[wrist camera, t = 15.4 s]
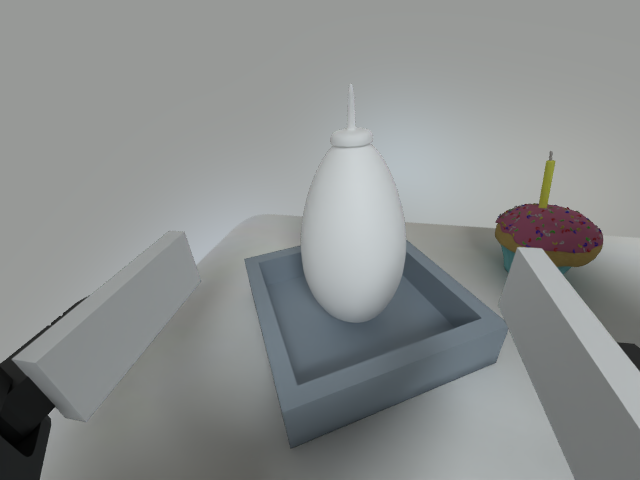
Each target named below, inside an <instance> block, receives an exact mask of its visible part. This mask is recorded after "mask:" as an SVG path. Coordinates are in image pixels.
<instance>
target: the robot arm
mask: <svg viewBox="0 0 640 480" xmlns="http://www.w3.org/2000/svg"><path fill="white" fill-rule="evenodd" d="M200 282H201V279H200V276H199V273H198V270H197V267H196V264H195V261H194V259H193V256H192V253H191V250H190V247H189V244H188V241H187V238H186V235H185V232H179V231H178V232H177V231H168V232H167V233H166V234H165V235H163V236H162V237H161V238H160V239H158V241H156V242H155V243H154V244H152V245H151V246H150V247H149V248H148V249H146V250H145V251H144V252H143V253H141V254H140V255H139V256H138V257H136V258H135V259H134V260H133V261H131V262H130V263H129V264H128V265H127V266H125V267H124V268H123V269H122V270H120V271H119V272H118V273H117V274H116V275H114V276H113V277H112V278H111V279H110V280H108V281H107V282H106V283H104V284H103V285H102V286H101V287H100V288H98V289H97V290H96V291H95V292H94V293H92V294H91V295H89V296H88V297H86V298H84V299H82V300H80V301H79V302H77V303H75V304H74V305H73V306H72V307H71V308H69V309H68V310H67V311H66V312H64V313H63V315H62V316H59V317H58V318H57V319H56V320H54V321H53V322H52V323H51V325H50V326H47V327H46V328H44V329H43V330H42V331H41V332H40V333H38V334H37V335H36V336H34V337H33V338H32V339H31V340H29V341H28V342H27V343H26V344H24V345H23V346H22V347H21V348H20V349H18V350H17V351H16V352H15V353H13V354H12V355H11V356H10V357H8V358H7V359H6V360H5V361H3V362H2V363H0V480H40V475H41V470H42V466H43V461H44V456H45V451H46V447H47V442H48V437H49V433H50V428H51V418H50V417H49V416H48V414H49V413H50V412H51V411H52V410H53V408H54V407H56V408H57V409H58V410H59V411H60V413H61V414H62V415H63V416H64V417H65V418H68V419H73V420H79V421H84V422H87V421H88V419H89V418H90V417H91V416H92V415H93V413H94V412H95V411H96V410H97V408H98V407H99V406H100V405H101V403H102V402H103V401H104V400H105V399H106V397H107V396H108V395H109V394H110V392H111V391H112V390H113V389H114V388H115V386H116V385H117V384H118V383H119V381H120V380H121V379H122V378H123V377H124V375H125V374H126V373H127V372H128V370H129V369H130V368H131V367H132V365H133V364H134V363H135V362H136V361H137V359H138V358H139V357H140V356H141V354H142V353H143V352H144V351H145V350H146V348H147V347H148V346H149V345H150V343H151V342H152V341H153V340H154V338H155V337H156V336H157V335H158V334H159V332H160V331H161V330H162V329H163V327H164V326H165V325H166V324H167V323H168V321H169V320H170V319H171V318H172V316H173V315H174V314H175V313H176V311H177V310H178V309H179V308H180V307H181V305H182V304H183V303H184V302H185V300H186V299H187V298H188V297H189V296H190V294H191V293H192V292H193V291H194V289H195V288H196V287H197V286H198V284H199V283H200ZM498 306H499V308H500V311H501V313H502V315H503V318H504V320H505V322H506V324H507V327H508V329H509V331H510V333H511V336H512V338H513V340H514V343H515V345H516V347H517V349H518V352H519V354H520V356H521V358H522V361H523V363H524V365H525V367H526V370H527V372H528V374H529V377H530V379H531V381H532V383H533V386H534V388H535V390H536V392H537V395H538V397H539V399H540V401H541V404H542V406H543V408H544V411H545V413H546V415H547V417H548V420H549V422H550V424H551V426H552V429H553V431H554V433H555V435H556V438H557V440H558V442H559V445H560V447H561V449H562V451H563V454H564V456H565V458H566V460H567V463H568V465H569V467H570V469H571V472H572V474H573V476H574V479H575V480H640V348H639V347H637V346H636V345H635V344H629V343H618V342H616V341H615V340H614V339H613V337H612V336H611V335H610V334H609V332H608V331H607V330H606V329H605V327H604V326H603V325H602V324H601V322H600V321H599V320H598V319H597V317H596V316H595V315H594V313H593V312H592V311H591V310H590V308H589V307H588V306H587V305H586V303H585V302H584V301H583V300H582V298H581V297H580V296H579V295H578V293H577V292H576V291H575V290H574V288H573V287H572V286H571V285H570V283H569V282H568V281H567V279H566V278H565V277H564V276H563V274H562V273H561V272H560V271H559V269H558V268H557V267H556V266H555V264H554V263H553V262H552V261H551V259H550V258H549V257H548V256H547V254H546V253H545V252H544V250H543V249H542V248H526V247H517V250H516V253H515V256H514V259H513V262H512V265H511V268H510V271H509V274H508V276H507V279H506V282H505V285H504V288H503V291H502V294H501V297H500V300H499V303H498Z"/></svg>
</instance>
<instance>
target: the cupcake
mask: <svg viewBox="0 0 640 480" xmlns="http://www.w3.org/2000/svg"><path fill="white" fill-rule="evenodd" d="M552 154H553V153H552V151H550V156H549V160H548V161H546V166H545V172H544V178H543V185H542V189H541V196H540V201H539V204H535V203H534V204H525V205H521V206H518V207H517V206H515V207H516V208H515V207H514V208H513V209H509V210H507V211H506V212H504V213H503V214H502V216H501V214H500V215H499V216H498V217H499V218H497V220H496V223H498V224H497V226H496V230H495V237H496V239H497V240H498V241H499V243H500V244H501V247H502V251H503V256H504V267H505V269H506V271H507V272H508V273H509V271H510V268H511V265H512V262H513V259H514V256H515V253H516V250H517V247H526V248H542V249H543V250H544V252H545V253H546V254H547V256H548V257H549V258H550V259H551V261H552V262H553V263H554V264H555V266H556V267H557V268H558V269H559V271H560V272H561V273H562V274H564V273H565V272H567V271H568V270H569V269H570V268H571V267H579V266H583V265H586V264H588V263H589V262H591V261H592V260H594V259H595V258H596V257H597V255H598V254H599V252H600V251H601V249H602V246H603V235H602V232H601V230H600V229H599V228H597V226H596V225H594V224H593V222H591V221H590V220H589V219H588V218H586V217H585V216H583V215H582V214H580V213H579V212H578V211H573V210H570V209H569V208H568V207H567V208H563V207H559V206H557V205H548V198H549V193H550V187H551V182H552V176H553V171H554V166H555V161H554V160H552Z"/></svg>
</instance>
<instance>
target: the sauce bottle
mask: <svg viewBox="0 0 640 480" xmlns="http://www.w3.org/2000/svg"><path fill="white" fill-rule="evenodd" d="M372 141H373V135H372V132H371V131H370V130H368V129H363V128H356V125H355V102H354V91H353V86H352V84H350V86H349V92H348V118H347V128H345V129H340V130H337V131H335V132H334V133H333V134H332V135H331V140H330V142H331V144H332V145H333V146H332V147H331V148H330V149H329V151H328V152H327V153H326V155H325V156H324V158H323V159H322V161H321V163H320V165H319V167H318V169H317V171H316V174H315V176H314V179H313V181H312V184H311V187H310V190H309V193H308V197H307V200H306V204H305V208H304V213H303V219H302V227H301V256H302V265H303V270H304V274H305V278H306V281H307V283H308V286H309V288H310V290H311V292H312V294H313V296H314V297H315V299H316V300H317V302H318V303H319V304H320V305H321V306H322V307H323V308H324V310H325V311H326V312H327V313H329V314H330V315H331V316H333V317H335V318H337V319H339V320H342V321H346V322H352V323H360V322H366V321H369V320H371V319H373V318H375V317H376V316H377V315H379V314H380V313H381V312H382V311H383V310H384V309H385V307H386V306H387V305H388V304H389V302H390V301H391V299H392V298H393V296H394V294H395V292H396V290H397V288H398V286H399V283H400V281H401V278H402V274H403V269H404V263H405V256H406V228H405V220H404V214H403V210H402V205H401V201H400V198H399V194H398V191H397V188H396V185H395V182H394V180H393V177H392V175H391V173H390V170H389V168H388V166H387V164H386V163H385V161H384V159H383V158H382V156H381V155H380V153H379V152H378V151H377V149H376V148H375V147H374V146H373V145H372V144H370V143H371V142H372Z"/></svg>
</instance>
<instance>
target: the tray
mask: <svg viewBox="0 0 640 480" xmlns="http://www.w3.org/2000/svg"><path fill="white" fill-rule="evenodd" d="M244 260H245V265H246V269H247V273H248V277H249V282H250V286H251V290H252V294H253V298H254V302H255V306H256V310H257V314H258V318H259V322H260V326H261V330H262V334H263V339H264V343H265V347H266V351H267V355H268V359H269V363H270V367H271V371H272V375H273V379H274V383H275V387H276V391H277V395H278V399H279V403H280V407H281V411H282V415H283V419H284V423H285V427H286V432H287V436H288V440H289V444H290V448H293V447H296V446H298V445H300V444H303V443H305V442H308V441H310V440H312V439H315V438H317V437H320V436H322V435H324V434H327V433H329V432H331V431H334V430H336V429H339V428H341V427H343V426H346V425H348V424H350V423H353V422H355V421H358V420H360V419H362V418H365V417H367V416H370V415H372V414H374V413H377V412H379V411H381V410H384V409H386V408H389V407H391V406H393V405H396V404H398V403H401V402H403V401H405V400H408V399H410V398H412V397H415V396H417V395H420V394H422V393H424V392H427V391H429V390H432V389H434V388H436V387H439V386H441V385H443V384H446V383H448V382H451V381H453V380H455V379H458V378H460V377H463V376H465V375H467V374H470V373H472V372H474V371H477V370H479V369H482V368H484V367H486V366H489V365H491V364H494V363H496V361H497V358H498V355H499V353H500V350H501V347H502V345H503V342H504V339H505V337H506V334H507V332H508V327H507V324H506V322H505V321H504V320H503V319H502V318H501V317H500V316H498V315H497V314H496V313H495V312H493V311H492V310H491V309H490V308H489V307H487V306H486V305H485V304H484V303H483V302H481V301H480V300H479V299H478V298H476V297H475V296H474V295H473V294H472V293H470V292H469V291H468V290H467V289H466V288H464V287H463V286H462V285H461V284H459V283H458V282H457V281H456V280H455V279H453V278H452V277H451V276H450V275H449V274H447V273H446V272H445V271H444V270H442V269H441V268H440V267H439V266H438V265H436V264H435V263H434V262H433V261H432V260H430V259H429V258H428V257H427V256H425V255H424V254H423V253H422V252H421V251H419V250H418V249H417V248H416V247H415V246H413V245H412V244H411V243H410V242H408V241H407V240H406V256H405V263H404V269H403V274H402V278H401V281H400V283H399V286H398V288H397V290H396V292H395V294H394V296H393V298H392V299H391V301H390V302H389V304H388V305H387V306H386V307H385V309H384V310H383V311H382V312H381V313H380V314H379V315H377V316H376V317H375V318H373V319H371V320H369V321H366V322H360V323H352V322H346V321H342V320H339V319H337V318H335V317H333V316H331V315H330V314H329V313H327V312H326V311H325V310H324V308H323V307H322V306H321V305H320V304H319V303H318V302H317V300H316V299H315V297H314V296H313V294H312V292H311V290H310V288H309V286H308V283H307V281H306V278H305V274H304V270H303V265H302V256H301V246H297V247H293V248H288V249H284V250H280V251H276V252H272V253H268V254H263V255H259V256H255V257H251V258H247V259H244Z"/></svg>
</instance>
